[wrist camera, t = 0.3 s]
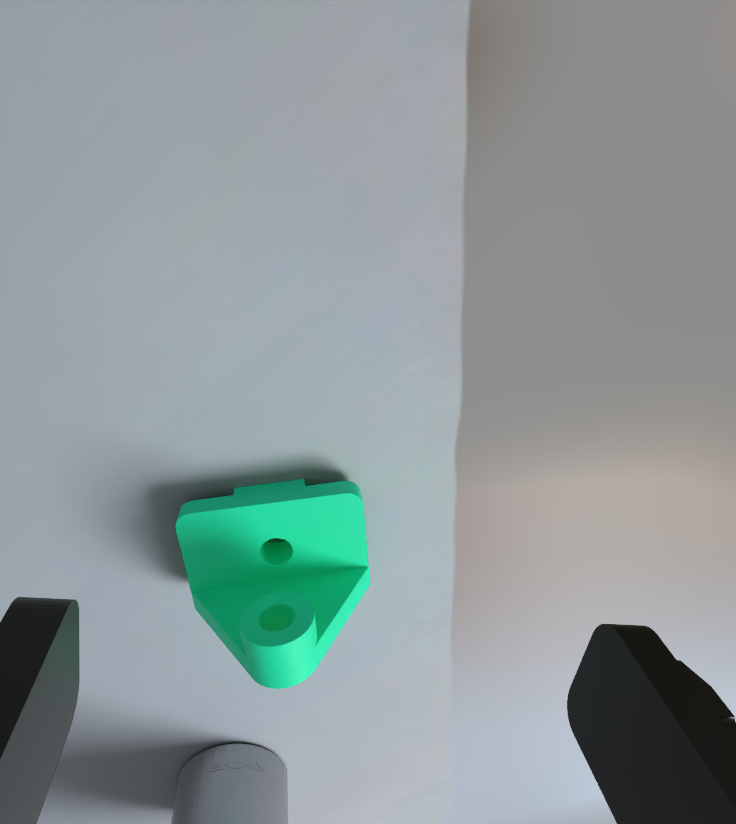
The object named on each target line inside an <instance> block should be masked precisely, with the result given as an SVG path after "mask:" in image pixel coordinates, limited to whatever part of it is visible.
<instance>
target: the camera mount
mask: <svg viewBox="0 0 736 824" xmlns="http://www.w3.org/2000/svg"><path fill="white" fill-rule="evenodd" d="M175 528H176V533H177V537H178V541H179V545H180V549H181V553H182V557H183V561H184V565H185V569H186V573H187V577H188V581H189V585H190V589H191V593H192V597H193V601H194V605H195V609H196V610H197V611H198V613H199V614H200V615H201V616H202V617H203V619H204V620H205V621H206V622H207V624H208V625H209V626H210V627H211V628H212V630H213V631H214V632H215V633H216V634H217V636H218V637H219V638H220V639H221V641H222V642H223V643H224V644H225V645H226V647H227V648H228V649H229V650H230V651H231V653H232V654H233V655H234V656H235V658H236V659H237V660H238V661H239V662H240V664H241V665H242V666H243V667H244V668H245V670H246V671H247V672H248V673H249V675H250V676H251V677H252V678H253V679H254V680H255V681H256V682H257V683H258V684H260V685H262V686H265V687H268V688H275V689H280V688H287V687H291V686H294V685H297V684H299V683H301V682H302V681H304V680H305V679H307V678H308V677H309V676H310V675H311V674H312V673H313V672H314V671H315V669H316V668H317V666H318V664H319V663H320V661H321V660H322V658H323V657H324V655H325V654H326V652H327V650H328V649H329V647H330V646H331V644H332V643H333V641H334V640H335V638H336V636H337V635H338V633H339V632H340V630H341V629H342V627H343V625H344V624H345V622H346V621H347V619H348V618H349V616H350V615H351V613H352V611H353V610H354V608H355V607H356V605H357V604H358V602H359V601H360V599H361V597H362V596H363V594H364V593H365V591H366V590H367V588H368V587H369V585H370V577H369V565H368V554H367V543H366V531H365V520H364V509H363V502H362V497H361V493H360V489H359V487H358V486H357V485H356V484H355V483H353V482H350V481H340V482H332V483H324V484H316V485H309V486H305V479H299V480H291V481H283V482H276V483H268V484H260V485H252V486H244V487H237V488H234V493H233V495H231V496H223V497H215V498H208V499H200V500H192V501H189V502H186V503H185V504H184V505H182V507H181V508H180V511H179V514H178V518H177V522H176V527H175ZM273 538H281V539H284V540H285V541H283V542H280V543H273V542H269V541H268V540H270V539H273Z"/></svg>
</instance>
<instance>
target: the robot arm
mask: <svg viewBox="0 0 736 824" xmlns="http://www.w3.org/2000/svg"><path fill="white" fill-rule="evenodd" d="M78 689H79V607H78V602H77V601H76V600H70V599H49V598H29V597H18V598H16V599H15V600H14V601H13V602H12V604H11V605H10V607H9V608H8V610H7V612H6V614H5V615H4V617H3V619H2V621H1V622H0V824H36V823H37V821H38V818H39V815H40V812H41V809H42V806H43V804H44V801H45V798H46V795H47V792H48V789H49V787H50V784H51V781H52V778H53V775H54V772H55V770H56V767H57V764H58V761H59V758H60V755H61V753H62V750H63V747H64V744H65V741H66V738H67V736H68V733H69V730H70V727H71V723H72V720H73V716H74V712H75V708H76V703H77V697H78ZM567 710H568V718H569V722H570V726H571V729H572V731H573V734H574V736H575V738H576V740H577V742H578V744H579V746H580V748H581V750H582V752H583V754H584V756H585V759H586V760H587V763H588V765H589V767H590V769H591V771H592V773H593V775H594V777H595V779H596V781H597V783H598V785H599V787H600V789H601V791H602V793H603V795H604V798H605V800H606V802H607V804H608V806H609V808H610V810H611V812H612V814H613V816H614V818H615V820H616V822H617V824H736V722H735V717H734V715H733V714H732V713H731V711H730V710H729V709H728V708H727V706H726V705H725V704H724V702H723V701H722V700H721V699H720V697H719V696H718V695H717V693H716V692H715V691H714V690H713V688H712V687H711V686H710V685H708V684H707V683H706V682H705V681H704V680H703V679H701V678H700V677H699V676H698V675H697V674H695V673H694V672H693V671H692V670H691V669H690V668H688V667H687V666H686V665H685V664H684V663H683V662H681V661H678V660H676V659H675V658H674V656H673V655H672V654H671V652H670V651H669V650H668V648H667V647H666V646H665V644H664V643H663V642H662V640H661V639H660V638H659V636H658V635H657V634H656V633H655V632H654V631H653V630H652V629H651V628H649V627H647V626H637V625H616V624H601V625H599V626H598V627H597V628H596V629H595V631H594V632H593V634H592V637H591V639H590V641H589V644H588V646H587V649H586V651H585V654H584V656H583V658H582V661H581V663H580V666H579V668H578V670H577V673H576V675H575V677H574V680H573V682H572V685H571V687H570V690H569V694H568V701H567ZM171 824H288V789H287V770H286V767H285V765H284V763H283V762H282V761H281V759H280V758H279V757H278V756H276V755H275V754H274V753H272V752H271V751H269V750H266V749H264V748H262V747H258V746H254V745H248V744H227V745H221V746H216V747H213V748H210V749H207V750H205V751H203V752H201V753H199V754H197V755H196V756H194V757H193V758H192V759H191V760H189V761H188V762H187V763H186V765H185V766H184V767H183V768H182V770H181V772H180V775H179V777H178V784H177V790H176V796H175V802H174V809H173V815H172V821H171Z"/></svg>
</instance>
